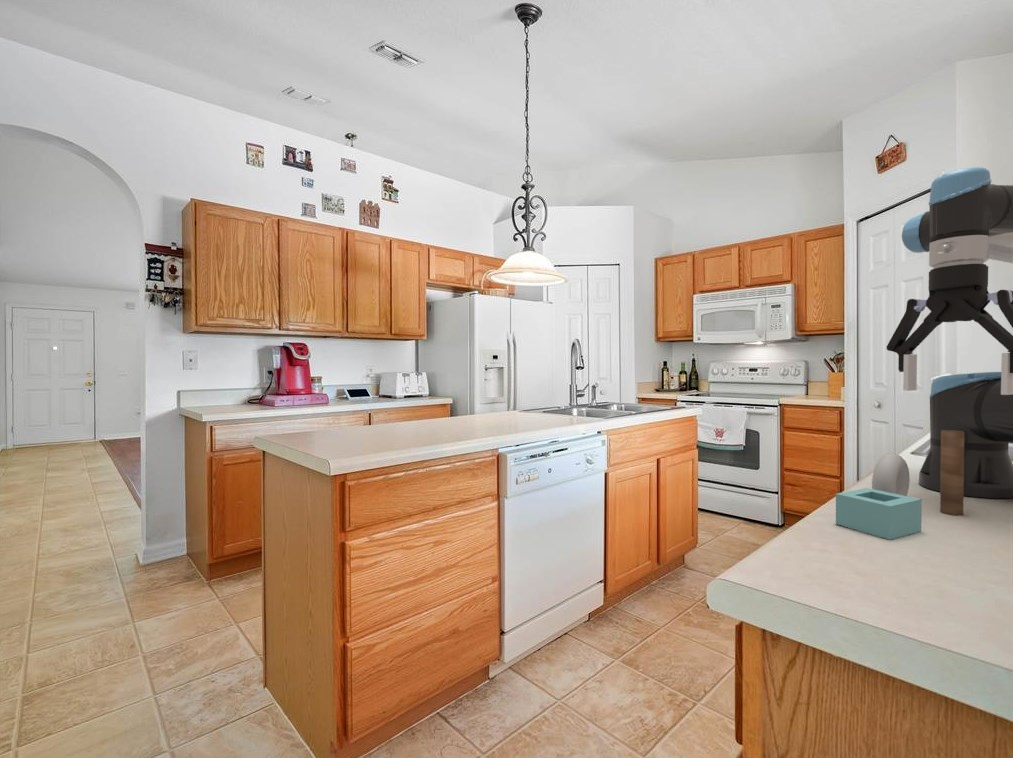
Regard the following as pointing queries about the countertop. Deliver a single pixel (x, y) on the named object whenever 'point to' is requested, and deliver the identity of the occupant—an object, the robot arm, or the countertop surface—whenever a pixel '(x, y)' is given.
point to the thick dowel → (952, 472)
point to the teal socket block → (879, 512)
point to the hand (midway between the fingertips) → (955, 392)
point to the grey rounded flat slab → (891, 475)
